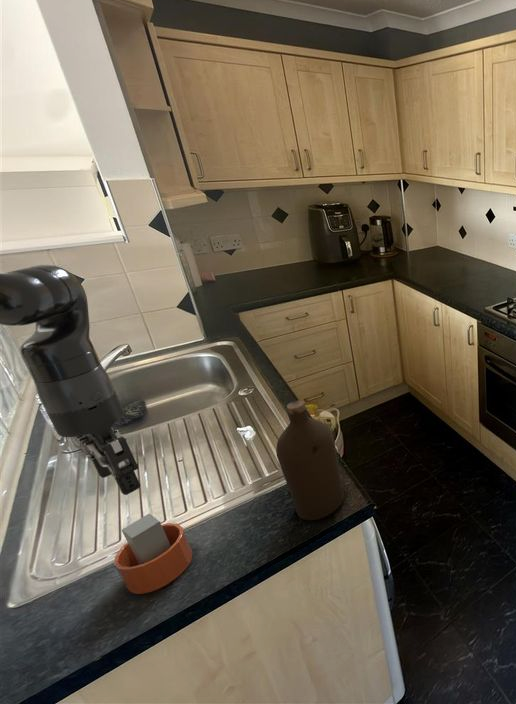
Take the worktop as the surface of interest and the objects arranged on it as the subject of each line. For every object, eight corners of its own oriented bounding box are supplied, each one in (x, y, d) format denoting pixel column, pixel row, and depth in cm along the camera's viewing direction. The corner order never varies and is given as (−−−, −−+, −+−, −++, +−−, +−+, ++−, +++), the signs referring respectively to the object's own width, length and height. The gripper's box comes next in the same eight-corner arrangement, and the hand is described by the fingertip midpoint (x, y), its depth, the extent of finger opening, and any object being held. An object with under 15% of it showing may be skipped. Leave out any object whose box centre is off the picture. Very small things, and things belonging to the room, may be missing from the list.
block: (152, 580, 72) (131, 538, 68) (141, 571, 73) (121, 529, 70) (178, 562, 75) (159, 521, 71) (167, 553, 77) (149, 513, 73)
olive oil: (356, 488, 92) (335, 392, 83) (327, 526, 82) (300, 422, 73) (315, 482, 94) (290, 388, 85) (282, 519, 84) (250, 417, 75)
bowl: (141, 603, 68) (128, 578, 66) (117, 579, 73) (104, 555, 70) (202, 558, 76) (192, 535, 74) (177, 539, 80) (167, 516, 78)
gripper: (29, 399, 62) (73, 483, 67) (64, 422, 55) (109, 513, 61) (94, 377, 68) (129, 456, 74) (132, 396, 61) (167, 481, 67)
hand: (120, 482), depth 67 cm, fingers open, 8 cm apart
